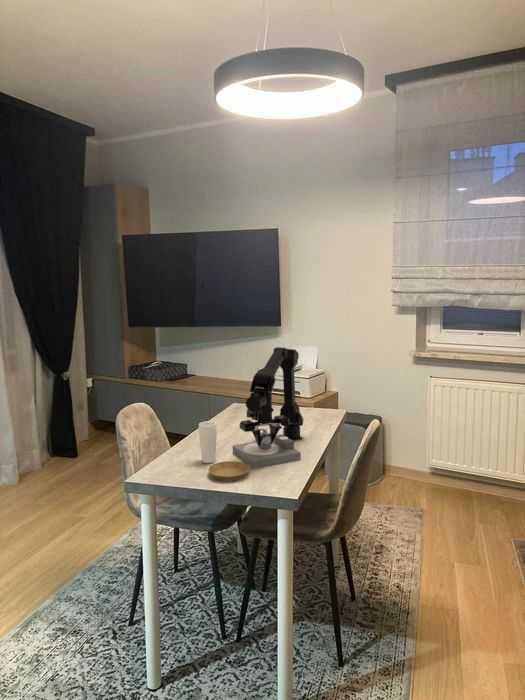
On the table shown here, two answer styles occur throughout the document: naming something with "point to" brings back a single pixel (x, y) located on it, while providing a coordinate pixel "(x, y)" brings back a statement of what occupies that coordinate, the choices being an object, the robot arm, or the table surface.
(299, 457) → the kitchen scale
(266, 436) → the cylinder
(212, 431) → the drinking glass
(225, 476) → the plant saucer
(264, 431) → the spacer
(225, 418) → the table surface
